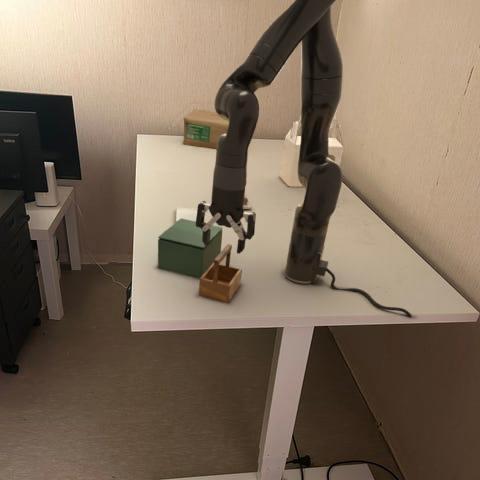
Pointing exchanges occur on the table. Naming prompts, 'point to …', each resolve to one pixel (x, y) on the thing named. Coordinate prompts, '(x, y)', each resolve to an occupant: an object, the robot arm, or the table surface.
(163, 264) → the carton
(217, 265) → the basket
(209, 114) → the paper package
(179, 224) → the flap
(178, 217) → the hard drive
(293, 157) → the gable box
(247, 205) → the packaged product
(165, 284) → the table surface
